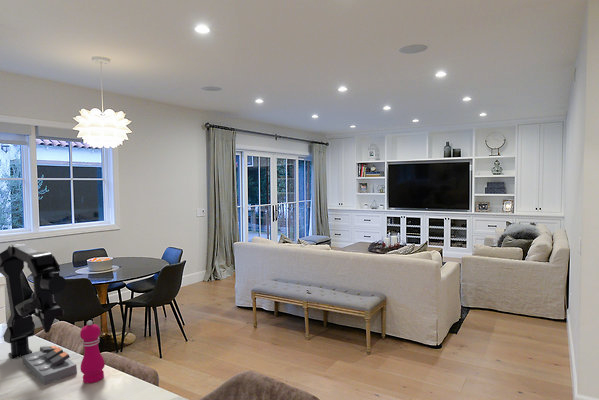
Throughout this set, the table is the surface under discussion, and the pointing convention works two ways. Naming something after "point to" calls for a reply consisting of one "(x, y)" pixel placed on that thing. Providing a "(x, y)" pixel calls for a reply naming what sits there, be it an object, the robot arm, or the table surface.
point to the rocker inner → (47, 349)
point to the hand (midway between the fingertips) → (47, 332)
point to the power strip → (47, 367)
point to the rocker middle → (53, 353)
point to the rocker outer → (59, 358)
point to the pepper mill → (91, 354)
